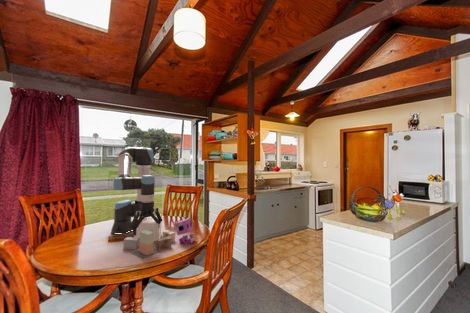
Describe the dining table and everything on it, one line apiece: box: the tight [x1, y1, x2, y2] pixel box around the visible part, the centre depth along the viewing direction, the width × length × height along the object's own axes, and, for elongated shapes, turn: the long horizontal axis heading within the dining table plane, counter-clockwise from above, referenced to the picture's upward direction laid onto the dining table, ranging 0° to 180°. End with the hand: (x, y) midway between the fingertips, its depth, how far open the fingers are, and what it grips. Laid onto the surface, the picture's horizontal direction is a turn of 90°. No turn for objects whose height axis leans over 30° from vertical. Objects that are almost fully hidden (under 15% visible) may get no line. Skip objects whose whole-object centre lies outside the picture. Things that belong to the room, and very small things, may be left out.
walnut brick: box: [155, 236, 172, 251], centre depth 137 cm, size 8×4×6 cm, turn 130°
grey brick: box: [123, 236, 140, 250], centre depth 136 cm, size 8×4×6 cm, turn 85°
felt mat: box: [130, 248, 162, 260], centre depth 129 cm, size 12×12×1 cm
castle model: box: [137, 213, 163, 242], centre depth 153 cm, size 14×14×15 cm
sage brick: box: [140, 230, 155, 245], centre depth 129 cm, size 8×4×6 cm, turn 56°
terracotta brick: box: [138, 242, 154, 255], centre depth 129 cm, size 8×4×6 cm, turn 55°
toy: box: [174, 217, 196, 245], centre depth 149 cm, size 11×8×15 cm
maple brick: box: [162, 229, 176, 243], centre depth 150 cm, size 8×4×6 cm, turn 55°
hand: (146, 237), depth 129 cm, fingers open, 13 cm apart
